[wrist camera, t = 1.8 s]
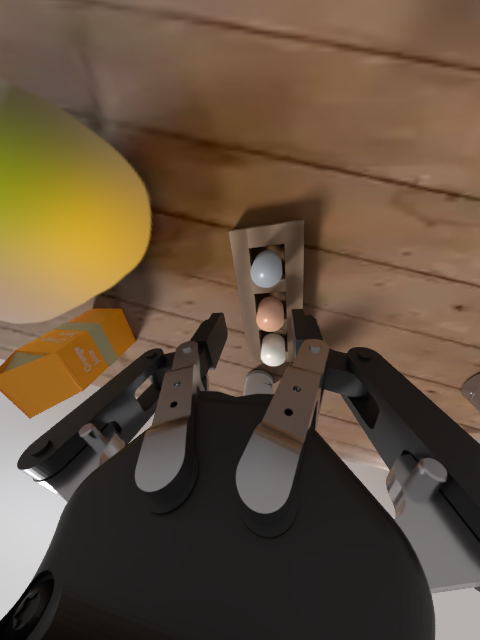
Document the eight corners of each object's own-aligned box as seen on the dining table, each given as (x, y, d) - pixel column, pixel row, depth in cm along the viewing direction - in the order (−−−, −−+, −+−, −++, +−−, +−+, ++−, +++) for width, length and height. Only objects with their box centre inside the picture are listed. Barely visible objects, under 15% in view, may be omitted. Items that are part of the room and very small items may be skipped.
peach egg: (282, 295, 29) (283, 307, 26) (283, 317, 31) (284, 331, 28) (257, 297, 30) (254, 308, 27) (259, 319, 32) (257, 332, 29)
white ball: (284, 332, 32) (285, 347, 29) (285, 350, 34) (285, 366, 31) (261, 333, 33) (259, 347, 30) (263, 351, 35) (261, 366, 32)
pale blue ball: (281, 248, 26) (281, 254, 22) (282, 276, 28) (282, 286, 24) (252, 251, 27) (248, 258, 23) (255, 279, 28) (252, 288, 25)
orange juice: (122, 308, 40) (9, 381, 23) (136, 341, 45) (50, 422, 28) (91, 308, 42) (-35, 376, 25) (108, 340, 46) (11, 416, 29)
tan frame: (301, 219, 26) (304, 220, 24) (300, 351, 38) (301, 362, 35) (233, 229, 29) (228, 231, 26) (251, 351, 40) (249, 361, 38)
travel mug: (274, 369, 42) (271, 479, 25) (272, 389, 45) (269, 498, 28) (246, 366, 43) (225, 470, 26) (246, 386, 46) (228, 489, 29)
